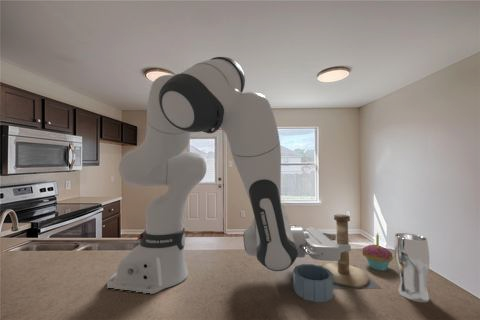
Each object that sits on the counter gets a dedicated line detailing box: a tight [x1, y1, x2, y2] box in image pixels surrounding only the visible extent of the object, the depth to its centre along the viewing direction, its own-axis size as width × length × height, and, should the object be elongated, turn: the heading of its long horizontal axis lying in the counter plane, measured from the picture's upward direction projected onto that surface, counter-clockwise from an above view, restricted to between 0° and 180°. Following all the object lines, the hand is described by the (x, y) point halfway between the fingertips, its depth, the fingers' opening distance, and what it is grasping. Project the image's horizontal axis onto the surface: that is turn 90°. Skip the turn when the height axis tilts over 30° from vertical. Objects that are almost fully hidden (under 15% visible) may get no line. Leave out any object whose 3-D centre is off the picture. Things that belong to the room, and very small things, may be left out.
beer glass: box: [394, 232, 430, 303], centre depth 54 cm, size 7×7×15 cm
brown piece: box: [322, 213, 370, 287], centre depth 65 cm, size 13×13×18 cm
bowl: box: [292, 263, 335, 303], centre depth 56 cm, size 10×10×5 cm
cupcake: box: [361, 232, 394, 271], centre depth 70 cm, size 9×8×12 cm
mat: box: [317, 264, 383, 290], centre depth 64 cm, size 14×14×1 cm
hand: (341, 241), depth 64 cm, fingers open, 8 cm apart
